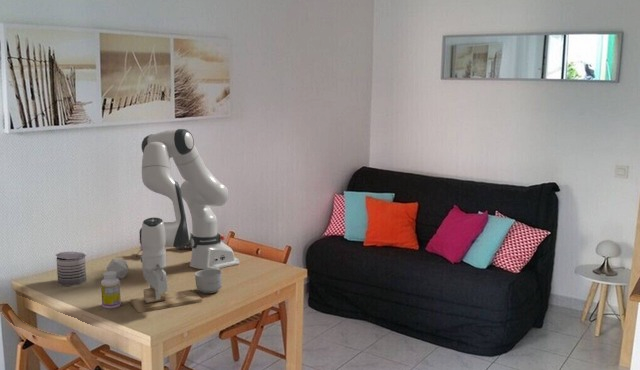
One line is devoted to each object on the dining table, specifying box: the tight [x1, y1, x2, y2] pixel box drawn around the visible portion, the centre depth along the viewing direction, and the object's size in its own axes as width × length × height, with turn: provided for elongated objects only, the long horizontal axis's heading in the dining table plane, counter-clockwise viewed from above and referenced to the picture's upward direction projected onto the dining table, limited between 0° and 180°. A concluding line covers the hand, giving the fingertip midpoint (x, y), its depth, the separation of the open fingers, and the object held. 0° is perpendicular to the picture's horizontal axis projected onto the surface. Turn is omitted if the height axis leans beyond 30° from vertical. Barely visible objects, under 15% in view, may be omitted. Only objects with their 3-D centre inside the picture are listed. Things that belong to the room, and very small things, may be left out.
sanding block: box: [143, 287, 166, 304], centre depth 238 cm, size 7×4×4 cm, turn 120°
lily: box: [135, 238, 143, 258], centre depth 301 cm, size 11×11×9 cm
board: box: [129, 289, 203, 314], centre depth 241 cm, size 24×12×1 cm, turn 120°
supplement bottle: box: [100, 271, 122, 309], centre depth 235 cm, size 7×7×13 cm
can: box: [55, 250, 87, 287], centre depth 262 cm, size 11×11×12 cm
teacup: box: [194, 268, 223, 295], centre depth 255 cm, size 14×11×8 cm
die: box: [106, 258, 130, 279], centre depth 269 cm, size 8×9×10 cm
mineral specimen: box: [174, 232, 193, 250], centre depth 313 cm, size 13×10×11 cm
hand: (155, 296), depth 239 cm, fingers closed on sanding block, 4 cm apart
